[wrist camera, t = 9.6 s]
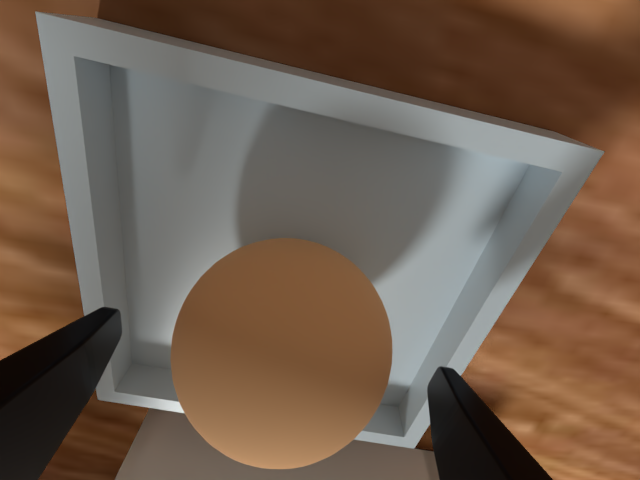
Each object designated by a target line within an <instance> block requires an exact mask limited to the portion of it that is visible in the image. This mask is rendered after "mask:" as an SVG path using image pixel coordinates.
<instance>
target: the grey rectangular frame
mask: <svg viewBox="0 0 640 480" xmlns="http://www.w3.org/2000/svg"><path fill="white" fill-rule="evenodd" d="M115 480H439V475H438V470H437V465H436V460H435V455H434V452H433V451H427V450H420V449H412V448H406V447H399V446H393V445H386V444H380V443H373V442H367V441H360V440H354V439H353V440H352V441H351V442H350V443H349V444H348V445H346V446H345V447H343V448H342V449H341V450H339V451H338V452H336V453H335V454H333V455H331V456H329V457H327V458H325V459H323V460H321V461H318V462H316V463H313V464H311V465H307V466H304V467H299V468H292V469H266V468H259V467H254V466H250V465H246V464H243V463H240V462H238V461H235V460H233V459H231V458H229V457H227V456H226V455H224V454H223V453H221V452H220V451H218V450H217V449H215V448H214V447H212V446H211V445H210V444H209V443H208V442H206V441H205V440H204V438H203V437H202V436H201V435H200V434H199V433H198V432H197V431H196V430H195V428H194V427H193V426H192V424H191V423H190V422H189V420H188V418H187V416H186V415H185V413H180V412H173V411H167V410H160V409H154V408H149V410H148V413H147V415H146V417H145V419H144V421H143V423H142V425H141V427H140V429H139V431H138V433H137V435H136V437H135V439H134V441H133V443H132V445H131V447H130V449H129V451H128V453H127V455H126V457H125V459H124V461H123V463H122V465H121V467H120V469H119V472H118V474H117V476H116V478H115Z"/></svg>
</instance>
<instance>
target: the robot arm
mask: <svg viewBox="0 0 640 480" xmlns="http://www.w3.org/2000/svg"><path fill="white" fill-rule="evenodd" d="M121 336H122V322H121V313H120V310H119V309H116V308H110V307H101V308H99V309H97V310H95V311H93V312H91V313H89V314H87V315H86V316H84V317H82V318H80V319H78V320H76V321H74V322H72V323H70V324H68V325H67V326H65V327H63V328H61V329H59V330H57V331H55V332H53V333H51V334H49V335H48V336H46V337H44V338H42V339H40V340H38V341H36V342H34V343H32V344H31V345H29V346H27V347H25V348H23V349H21V350H19V351H17V352H15V353H13V354H12V355H10V356H8V357H6V358H4V359H2V360H0V480H38V479H39V477H40V475H41V474H42V472H43V471H44V469H45V468H46V466H47V464H48V463H49V461H50V460H51V458H52V457H53V455H54V454H55V452H56V450H57V449H58V447H59V446H60V444H61V443H62V441H63V440H64V438H65V436H66V435H67V433H68V432H69V430H70V429H71V427H72V426H73V424H74V422H75V421H76V419H77V418H78V416H79V415H80V413H81V411H82V410H83V408H84V407H85V405H86V404H87V402H88V400H89V399H90V397H91V396H92V394H93V392H94V390H95V388H96V387H97V385H98V383H99V381H100V379H101V377H102V375H103V373H104V371H105V369H106V367H107V365H108V363H109V361H110V359H111V357H112V355H113V353H114V351H115V349H116V347H117V345H118V343H119V341H120V339H121ZM427 396H428V406H429V416H430V426H431V436H432V444H433V450H434V455H435V460H436V465H437V470H438V475H439V480H553V479H552V478H551V477H550V476H549V475H548V474H547V472H546V471H545V470H544V469H543V468H542V467H541V466H540V465H539V463H538V462H537V461H536V460H535V459H534V458H533V457H532V456H531V455H530V453H529V452H528V451H527V450H526V449H525V448H524V447H523V446H522V444H521V443H520V442H519V441H518V440H517V439H516V438H515V437H514V435H513V434H512V433H511V432H510V431H509V430H508V429H507V428H506V427H505V425H504V424H503V423H502V422H501V421H500V420H499V419H498V418H497V416H496V415H495V414H494V413H493V412H492V411H491V410H490V409H489V407H488V406H487V405H486V404H485V403H484V402H483V401H482V400H481V399H480V397H479V396H478V395H477V394H476V393H475V392H474V391H473V390H472V388H471V387H470V386H469V385H468V384H467V383H466V382H465V381H464V379H463V378H462V377H461V376H460V375H459V374H458V373H457V372H456V371H455V370H454V369H453V368H449V367H443V366H439V367H438V368H437V369H436V371H435V373H434V374H433V376H432V378H431V380H430V381H429V383H428V387H427Z"/></svg>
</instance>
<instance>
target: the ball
mask: <svg viewBox="0 0 640 480" xmlns="http://www.w3.org/2000/svg"><path fill="white" fill-rule="evenodd" d="M170 360H171V371H172V379H173V384H174V387H175V391H176V394H177V397H178V400H179V403H180V405H181V407H182V409H183V411H184V413H185V415H186V416H187V418H188V420H189V422H190V423H191V424H192V426H193V427H194V428H195V430H196V431H197V432H198V433H199V434H200V435H201V436H202V437H203V438H204V440H205V441H206V442H208V443H209V444H210V445H211V446H212V447H214V448H215V449H217V450H218V451H220V452H221V453H223V454H224V455H226V456H227V457H229V458H231V459H233V460H235V461H238V462H240V463H243V464H246V465H250V466H254V467H259V468H266V469H292V468H299V467H304V466H307V465H311V464H313V463H316V462H318V461H321V460H323V459H325V458H327V457H329V456H331V455H333V454H335V453H336V452H338V451H339V450H341V449H342V448H343V447H345V446H346V445H348V444H349V443H350V442H351V441H352V440H353V439H355V438H356V436H357V435H358V434H359V433H360V432H361V431H362V430H363V429H364V428H365V426H366V425H367V424H368V423H369V421H370V420H371V418H372V417H373V415H374V413H375V412H376V410H377V408H378V407H379V405H380V403H381V400H382V398H383V395H384V393H385V390H386V388H387V385H388V381H389V376H390V371H391V366H392V335H391V329H390V323H389V319H388V316H387V313H386V310H385V307H384V305H383V302H382V300H381V298H380V296H379V295H378V293H377V291H376V289H375V288H374V286H373V284H372V283H371V282H370V280H369V279H368V278H367V277H366V275H365V274H364V273H363V272H362V271H361V270H360V269H359V268H358V267H357V266H356V265H355V264H354V263H353V262H352V261H350V260H349V259H347V258H346V257H344V256H343V255H342V254H340V253H338V252H336V251H334V250H333V249H331V248H329V247H327V246H324V245H321V244H319V243H316V242H312V241H308V240H303V239H296V238H276V239H268V240H263V241H258V242H254V243H252V244H249V245H246V246H243V247H241V248H239V249H237V250H235V251H233V252H231V253H229V254H228V255H226V256H225V257H223V258H222V259H220V260H219V261H217V262H216V263H215V264H214V265H213V266H212V267H210V268H209V269H208V270H207V271H206V272H205V273H204V274H203V275H202V276H201V277H200V279H199V280H198V281H197V282H196V284H195V285H194V286H193V288H192V289H191V291H190V292H189V294H188V295H187V297H186V299H185V301H184V303H183V305H182V307H181V309H180V312H179V314H178V317H177V320H176V323H175V327H174V331H173V335H172V343H171V358H170Z"/></svg>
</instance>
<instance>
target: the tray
mask: <svg viewBox="0 0 640 480" xmlns="http://www.w3.org/2000/svg"><path fill="white" fill-rule="evenodd" d="M35 13H36V19H37V25H38V32H39V38H40V44H41V50H42V56H43V63H44V69H45V75H46V81H47V88H48V94H49V100H50V106H51V112H52V119H53V125H54V131H55V137H56V143H57V150H58V156H59V162H60V168H61V175H62V181H63V187H64V193H65V199H66V206H67V212H68V218H69V224H70V231H71V237H72V243H73V249H74V255H75V262H76V268H77V274H78V280H79V286H80V293H81V299H82V305H83V311H84V316H86V315H87V314H89V313H91V312H93V311H95V310H97V309H99V308H101V307H110V308H116V309H119V310H120V313H121V322H122V336H121V339H120V341H119V343H118V345H117V347H116V349H115V351H114V353H113V355H112V357H111V359H110V361H109V363H108V365H107V367H106V369H105V371H104V373H103V375H102V377H101V379H100V381H99V383H98V385H97V387H96V392H97V398H98V400H102V401H108V402H115V403H121V404H128V405H134V406H141V407H147V408H154V409H160V410H167V411H173V412H180V413H184V411H183V409H182V407H181V405H180V403H179V400H178V397H177V394H176V391H175V387H174V384H173V379H172V371H171V360H170V358H171V343H172V335H173V331H174V327H175V323H176V320H177V317H178V314H179V312H180V309H181V307H182V305H183V303H184V301H185V299H186V297H187V295H188V294H189V292H190V291H191V289H192V288H193V286H194V285H195V284H196V282H197V281H198V280H199V279H200V277H201V276H202V275H203V274H204V273H205V272H206V271H207V270H208V269H209V268H210V267H212V266H213V265H214V264H215V263H216V262H217V261H219V260H220V259H222V258H223V257H225V256H226V255H228V254H229V253H231V252H233V251H235V250H237V249H239V248H241V247H243V246H246V245H249V244H252V243H254V242H258V241H263V240H268V239H276V238H296V239H303V240H308V241H312V242H316V243H319V244H321V245H324V246H327V247H329V248H331V249H333V250H334V251H336V252H338V253H340V254H342V255H343V256H344V257H346V258H347V259H349V260H350V261H352V262H353V263H354V264H355V265H356V266H357V267H358V268H359V269H360V270H361V271H362V272H363V273H364V274H365V275H366V277H367V278H368V279H369V280H370V282H371V283H372V284H373V286H374V288H375V289H376V291H377V293H378V295H379V296H380V298H381V300H382V302H383V305H384V307H385V310H386V313H387V316H388V319H389V323H390V329H391V335H392V366H391V371H390V376H389V381H388V385H387V388H386V390H385V393H384V395H383V398H382V400H381V403H380V405H379V407H378V408H377V410H376V412H375V413H374V415H373V417H372V418H371V420H370V421H369V423H368V424H367V425H366V426H365V428H364V429H363V430H362V431H361V432H360V433H359V434H358V435H357V436H356V438H355V439H354V440H360V441H367V442H373V443H380V444H386V445H393V446H399V447H406V448H412V449H414V448H415V447H416V445H417V443H418V442H419V440H420V439H421V437H422V436H423V434H424V433H425V431H426V429H427V428H428V426H429V425H430V416H429V406H428V396H427V387H428V383H429V381H430V380H431V378H432V376H433V374H434V373H435V371H436V369H437V368H438V367H439V366H443V367H449V368H453V369H454V370H455V371H456V372H457V373H458V374H459V375H460V376H461V375H462V373H463V372H464V370H465V369H466V367H467V365H468V364H469V362H470V361H471V359H472V358H473V356H474V355H475V353H476V351H477V350H478V348H479V347H480V345H481V344H482V342H483V340H484V339H485V337H486V336H487V334H488V333H489V331H490V330H491V328H492V326H493V325H494V323H495V322H496V320H497V319H498V317H499V316H500V314H501V312H502V311H503V309H504V308H505V306H506V305H507V303H508V301H509V300H510V298H511V297H512V295H513V294H514V292H515V291H516V289H517V287H518V286H519V284H520V283H521V281H522V280H523V278H524V277H525V275H526V273H527V272H528V270H529V269H530V267H531V266H532V264H533V262H534V261H535V259H536V258H537V256H538V255H539V253H540V252H541V250H542V248H543V247H544V245H545V244H546V242H547V241H548V239H549V238H550V236H551V234H552V233H553V231H554V230H555V228H556V227H557V225H558V223H559V222H560V220H561V219H562V217H563V216H564V214H565V213H566V211H567V209H568V208H569V206H570V205H571V203H572V202H573V200H574V199H575V197H576V195H577V194H578V192H579V191H580V189H581V188H582V186H583V184H584V183H585V181H586V180H587V178H588V177H589V175H590V174H591V172H592V170H593V169H594V167H595V166H596V164H597V163H598V161H599V160H600V158H601V156H602V155H603V153H604V151H602V150H599V149H597V148H594V147H592V146H589V145H587V144H584V143H582V142H579V141H577V140H574V139H572V138H569V137H567V136H564V135H562V134H559V133H557V132H554V131H550V130H546V129H542V128H538V127H534V126H530V125H526V124H522V123H518V122H514V121H510V120H506V119H502V118H498V117H494V116H490V115H486V114H482V113H478V112H474V111H470V110H466V109H462V108H458V107H453V106H449V105H445V104H441V103H437V102H433V101H429V100H425V99H421V98H417V97H413V96H409V95H405V94H401V93H397V92H393V91H389V90H385V89H381V88H377V87H373V86H369V85H365V84H361V83H357V82H353V81H349V80H345V79H341V78H337V77H333V76H329V75H325V74H320V73H316V72H312V71H308V70H304V69H300V68H296V67H292V66H288V65H284V64H280V63H276V62H272V61H268V60H264V59H260V58H256V57H252V56H248V55H244V54H240V53H236V52H232V51H228V50H224V49H220V48H216V47H212V46H208V45H204V44H200V43H196V42H192V41H187V40H183V39H179V38H175V37H171V36H167V35H163V34H159V33H155V32H151V31H147V30H143V29H139V28H135V27H131V26H127V25H123V24H119V23H115V22H111V21H107V20H103V19H99V18H93V17H83V16H74V15H64V14H54V13H44V12H35Z"/></svg>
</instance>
